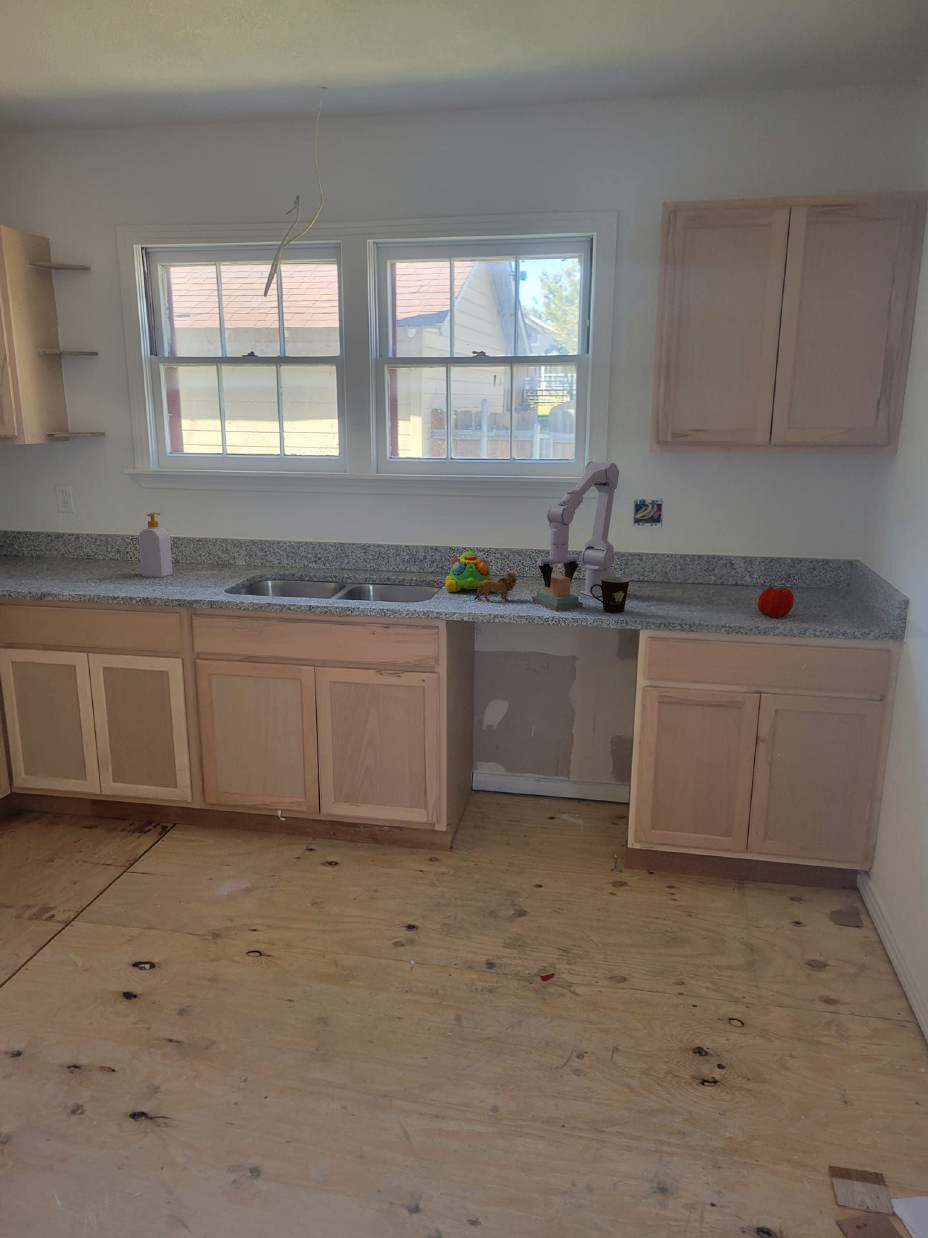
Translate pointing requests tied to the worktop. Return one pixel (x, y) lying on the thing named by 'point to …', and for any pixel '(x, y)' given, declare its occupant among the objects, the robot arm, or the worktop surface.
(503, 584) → the lion figurine
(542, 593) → the green-topped grey block
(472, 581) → the turtle toy
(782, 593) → the tomato
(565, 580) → the terracotta brick
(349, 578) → the worktop surface
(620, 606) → the coffee mug
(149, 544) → the soap bottle
